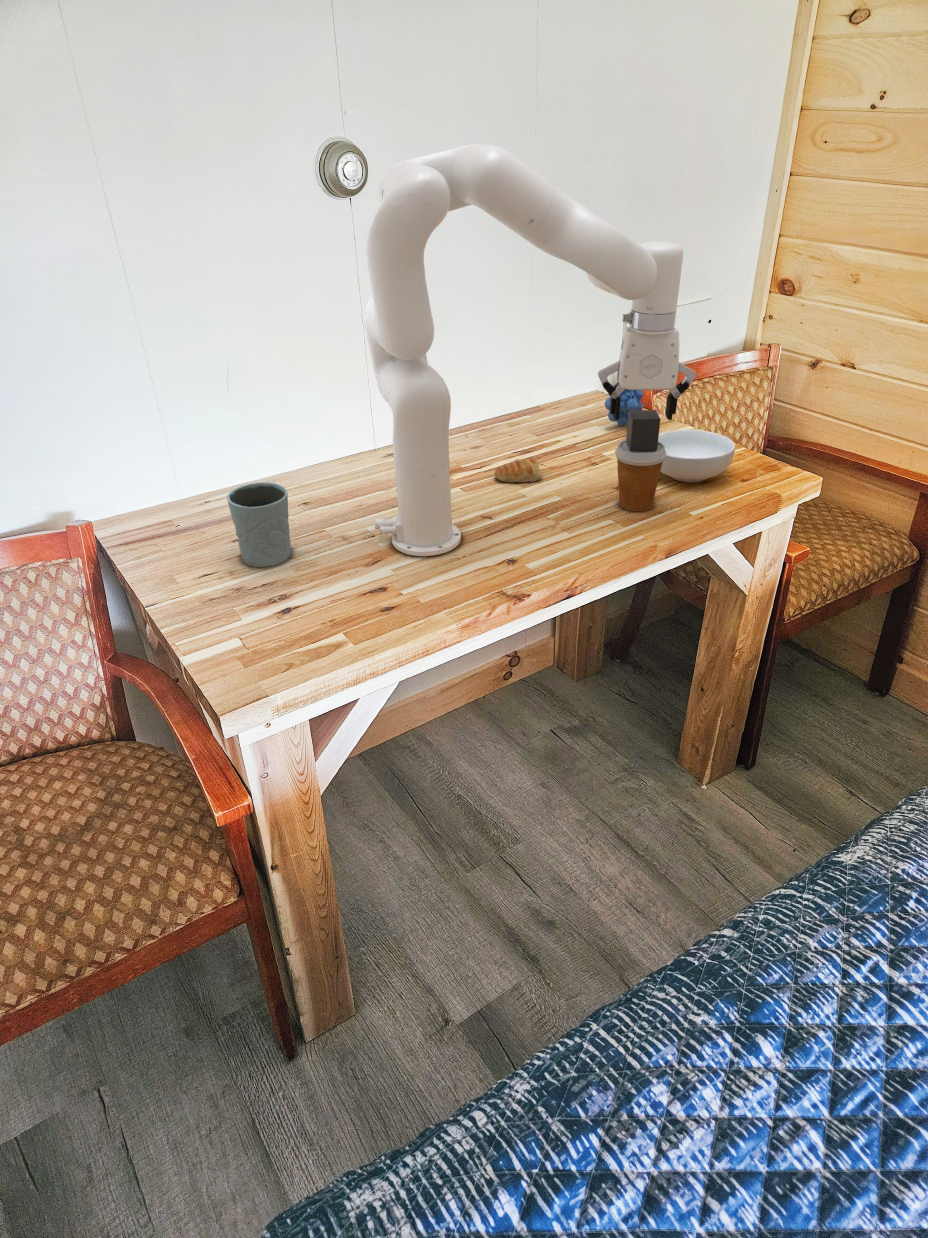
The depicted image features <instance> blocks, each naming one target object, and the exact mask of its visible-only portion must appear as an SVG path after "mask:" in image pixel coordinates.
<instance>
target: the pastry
mask: <svg viewBox="0 0 928 1238" xmlns="http://www.w3.org/2000/svg"><path fill="white" fill-rule="evenodd" d="M541 474H542V473H541V468H540V465H539V462H538V460H537V458H535V457H530V458H519V459H518V458H517V459H514V460H513V461H511V462H508V463H504V464H502V465H501V466H498V467H497V468H495V471H494V477H495V478H496V479H497V480H499V481H501V482H503V483H527V482H530V483H531V482H532V483H534V482H537V481H539V480H540V479H541V478H542V477H541V476H542V475H541Z"/></svg>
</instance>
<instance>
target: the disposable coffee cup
mask: <svg viewBox="0 0 928 1238" xmlns="http://www.w3.org/2000/svg"><path fill="white" fill-rule="evenodd" d="M666 454H667V453H666V451H665V447H664V445H663V444H662V443H661V442H659V441H658V447H657V450H654V451H630V449H629V447H628V444H627V442H626V439H623V440H621V441H619V443H618V444H617V447H616V448H615V450H614V455H615V458H616V461H617V463H616V464H617V485H618V503H619V507H621V508H622V509H624V510H627V511H629V512H630V511H631V512H645V511H648V510H650V509H651V508H653V504H654V499H655V496H656V491H657V487H658V483H659V479H660V474H661V472H660V471H661V467H662V463H663V460H664V458H665V457H666Z"/></svg>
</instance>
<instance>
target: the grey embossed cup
mask: <svg viewBox="0 0 928 1238" xmlns="http://www.w3.org/2000/svg"><path fill="white" fill-rule="evenodd" d="M226 500H227V504H228V508H229V511H230V516H231V520H232V523H233V525H234V528H235V535H236V538H237V539H238V547H239V551H240V556H241V559H242V561H243V563H244V564H246V565H248V566H249V567H254V568H269V567H274V566H277V565H280V564H282V563H285V562H286V561H287V560H288V559H289V558H290V557H291V553H292V546H291V536H290V522H289V515H290V514H289V494H288V490H287V489H286V488H285V487H284V486H282V485H280V484H277V483H273V482H253V483H248V484H243V485H239V486H238V487H236V488H233V489H232V490H230V491H229V492H228V494H227V496H226Z"/></svg>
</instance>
